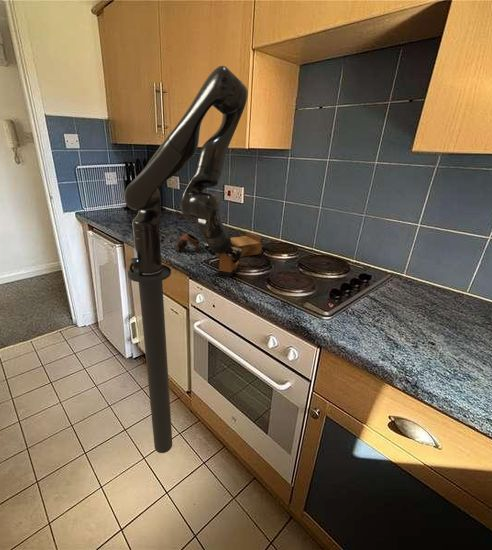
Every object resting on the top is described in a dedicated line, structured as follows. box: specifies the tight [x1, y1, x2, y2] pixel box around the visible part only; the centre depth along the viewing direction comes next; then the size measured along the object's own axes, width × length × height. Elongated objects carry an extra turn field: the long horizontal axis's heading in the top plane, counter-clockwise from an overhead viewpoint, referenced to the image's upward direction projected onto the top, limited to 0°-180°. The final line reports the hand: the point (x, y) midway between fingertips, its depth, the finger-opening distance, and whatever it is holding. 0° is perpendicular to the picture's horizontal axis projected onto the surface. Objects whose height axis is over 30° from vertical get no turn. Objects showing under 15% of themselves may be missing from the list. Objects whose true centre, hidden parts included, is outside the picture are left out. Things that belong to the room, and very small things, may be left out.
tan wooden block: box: [230, 231, 263, 258], centre depth 133 cm, size 11×12×7 cm
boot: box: [218, 253, 240, 278], centre depth 111 cm, size 9×5×10 cm, turn 157°
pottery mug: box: [175, 233, 201, 252], centre depth 132 cm, size 12×10×8 cm
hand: (229, 260), depth 110 cm, fingers closed on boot, 4 cm apart
